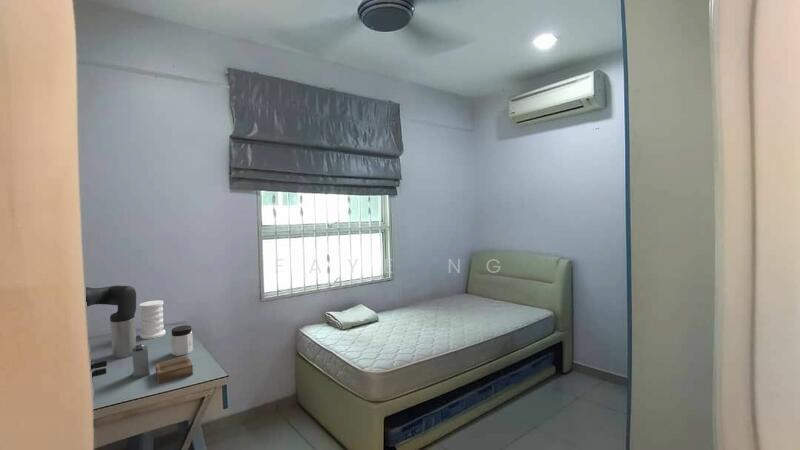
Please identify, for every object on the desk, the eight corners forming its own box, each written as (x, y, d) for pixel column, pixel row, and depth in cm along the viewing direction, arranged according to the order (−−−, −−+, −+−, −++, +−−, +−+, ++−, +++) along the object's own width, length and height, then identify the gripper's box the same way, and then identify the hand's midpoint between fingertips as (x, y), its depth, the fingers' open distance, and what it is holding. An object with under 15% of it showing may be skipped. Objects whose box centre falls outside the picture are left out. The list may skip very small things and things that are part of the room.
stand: (155, 372, 153) (155, 363, 152) (188, 364, 160) (187, 355, 160) (158, 383, 143) (158, 373, 143) (192, 374, 151) (192, 365, 151)
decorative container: (167, 330, 204) (165, 299, 203) (163, 337, 194) (162, 304, 193) (142, 333, 199) (141, 301, 198) (138, 340, 189) (136, 307, 188)
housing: (132, 374, 152) (131, 345, 151) (148, 370, 155) (147, 341, 154) (133, 379, 147) (131, 349, 146) (149, 374, 151) (148, 345, 150)
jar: (185, 356, 169) (184, 331, 168) (168, 356, 169) (167, 331, 168) (196, 348, 178) (195, 324, 177) (179, 348, 178) (178, 325, 177)
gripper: (47, 376, 128) (105, 363, 138) (52, 363, 139) (106, 352, 149) (48, 397, 128) (106, 382, 138) (53, 381, 139) (107, 369, 150)
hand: (106, 366), depth 144 cm, fingers open, 8 cm apart
